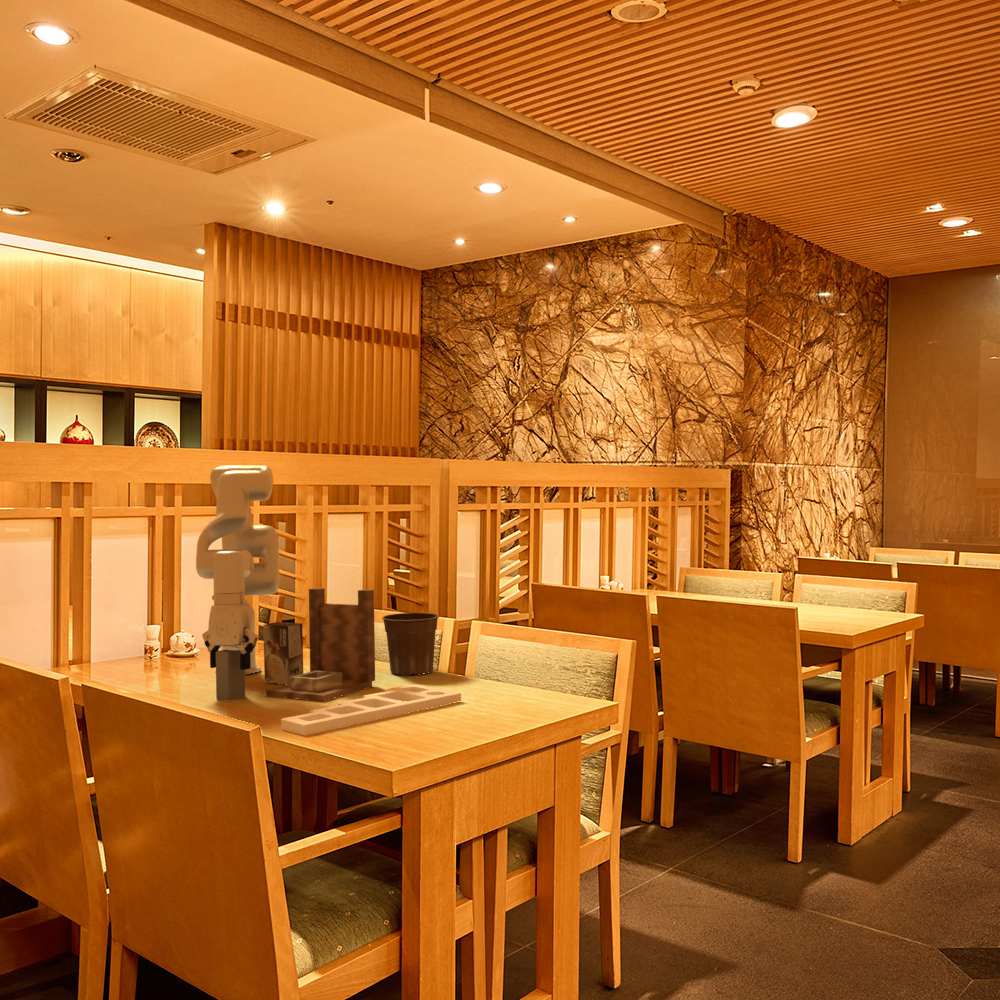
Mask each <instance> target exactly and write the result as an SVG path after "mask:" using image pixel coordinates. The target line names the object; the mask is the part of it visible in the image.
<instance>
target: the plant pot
mask: <svg viewBox="0 0 1000 1000" xmlns="http://www.w3.org/2000/svg"><path fill="white" fill-rule="evenodd" d="M381 618H382V619H381V620H382V621H383V624H384V625H383V627H384V631H385V633H386V641H387V651H388V657H389V667H390V668H389V671H390V674H392V673H393V675H395V674H397V675H396V676H401V675H403V676H405V675H410V676H412V675H416V674H422V675H424V674H423V673H428V672H431V673H433V672H434V661H435V645H436V633H437V632H436V631H437V629H438V619H439V618H440V615H439V614H438V613H430V612H399V613H393V614H388V615H383V616H382V617H381ZM428 674H429V673H428Z"/></svg>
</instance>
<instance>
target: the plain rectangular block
mask: <svg viewBox="0 0 1000 1000" xmlns="http://www.w3.org/2000/svg"><path fill="white" fill-rule="evenodd" d="M240 654H242V652H241V650H240V649H237V648H231V649H226V650H221V649H220V650H218V651H216V667H215V687H216V688H215V692H216V693H215V694H216V697H215V698H216V699H218V700H217V701H225V700H228V701H227V702H230V701H234V700H237V699H240V698H243V697H244V696H245V697H246V675H245V670H241V669H240Z"/></svg>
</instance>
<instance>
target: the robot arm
mask: <svg viewBox="0 0 1000 1000" xmlns="http://www.w3.org/2000/svg"><path fill="white" fill-rule="evenodd" d="M209 477H210V478H209V480H210V485H211V488H212V491H213V495H214V496H215V498H216V506H215V508H216V509H215V517H214V518H213V519H212V520H210V522H208V524H207V525H206V526H205V527H204V528H203V529H202V531H201V533H200V535H199V536H198V539H197V542H196V543H197V544H196V556H195V570H196V573H197V575H198V576H199V577H200V578H201V579H208V580H213V595H212V596H211V600H212V601H213V605H211V607H210V612H209V619H208V628H207V629H208V630H207V631H205V632H203V633H202V635H201V636H202V638H203V641H204V646H205V647H206V648H207V652H208V653H209V667H210V668H211V669H214V668H215V669H216V651H221V650H226V649H231V648H237V649H240V650H241V652H242V654H240V669H241V670H245V674H246V675H252V674H251V673H253V674H256V673H255V672H257V673H259V671H260V672H261V671H262V667H261V666H260V665H258V664H256V663H257V662H256V645H257V642H258V640H259V635H257V634H256V618H255V617H256V613H255V609H254V607H253V605H252V604H251V603H250V601H248V600H247V599H246V597H250V596H268V595H269V596H270V595H274V594H276V593H277V592H278V591H279V587H280V553H279V552H280V550H279V549H280V548H279V547H280V546H279V537H278V532H277V530H276V528H274V527H273V526H272V525H265V524H263V525H261V524H258V525H256V524H255V525H254V524H253V522H252V520H253V519H252V507H251V506H250V503H249V502H252V501H253V502H260V501H261V502H263V501H268V500H270V498H271V497H272V493H273V487H274V475H273V471H272V469H271V468H270V466H268V465H221V466H217V467H215V468H213V469H212V470H211V471H210V476H209ZM220 539H221V547H222V548H221V549H209V548H210V546H211V545H212V544H213V543H214V542H216V541H217V540H220ZM255 559H261V560H262V561H263V562H255ZM220 648H221V649H220Z"/></svg>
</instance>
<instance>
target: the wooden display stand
mask: <svg viewBox="0 0 1000 1000" xmlns="http://www.w3.org/2000/svg"><path fill="white" fill-rule="evenodd" d="M325 591H326V590H325V588H324V587H313V588H308V613H309V615H308V616H309V617H308V619H309V620H308V621H309V622H308V623H309V626H308V627H309V628H308V629H309V671H308V672H303V674H300V675H296V676H292V677H290V684H287V685H280V686H277V687H273V688H269V689H266V690H265V697H269V696H270V697H271V698H280V697H287V698H286V699H290V698H298V699H297V700H301V699H308V700H307V701H312V700H316V701H315V702H322V701H324V702H326V701H325V700H327V701H329V700H328V699H331V698H334V697H337V698H339V697H338V696H340V697H342V696H341V695H343V696H345V695H344V694H347V695H349V694H348V693H350V694H352V693H351V692H353V693H355V692H354V691H356V692H359V691H362V690H361V689H363V690H365V689H364V688H366V689H368V688H367V687H369V688H372V687H373V682H374V681H376V655H375V654H376V651H375V650H376V649H375V648H376V645H375V641H376V640H375V636H376V635H375V589H359V590H357V604H353V603H352V604H351V603H347V604H346V603H326V602H325V601H326V598H325V597H326V596H325V593H326V592H325ZM371 686H372V687H371ZM358 690H359V691H358ZM334 699H335V698H334ZM331 700H332V699H331Z"/></svg>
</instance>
